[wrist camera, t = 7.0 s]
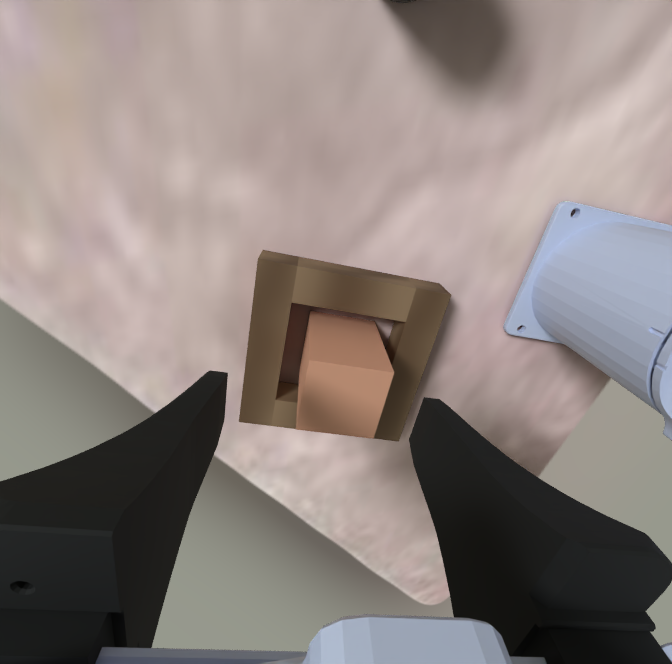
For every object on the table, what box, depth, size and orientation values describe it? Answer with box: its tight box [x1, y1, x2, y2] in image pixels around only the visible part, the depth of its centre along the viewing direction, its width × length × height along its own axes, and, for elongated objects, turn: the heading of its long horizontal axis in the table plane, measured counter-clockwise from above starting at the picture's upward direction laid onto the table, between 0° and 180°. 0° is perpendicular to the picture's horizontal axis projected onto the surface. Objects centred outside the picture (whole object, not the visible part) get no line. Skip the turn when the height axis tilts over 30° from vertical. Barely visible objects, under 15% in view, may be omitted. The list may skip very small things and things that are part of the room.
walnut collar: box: [239, 250, 451, 441], centre depth 22 cm, size 10×10×2 cm
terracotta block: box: [296, 311, 394, 439], centre depth 20 cm, size 4×4×6 cm
